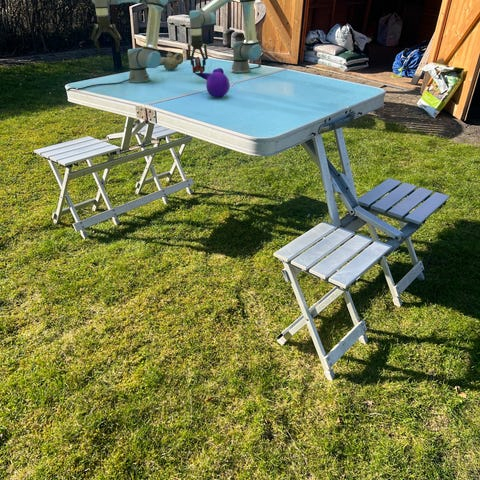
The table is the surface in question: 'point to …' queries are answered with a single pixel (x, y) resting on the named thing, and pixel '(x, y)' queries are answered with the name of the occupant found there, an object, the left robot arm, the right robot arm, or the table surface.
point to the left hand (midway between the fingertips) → (108, 51)
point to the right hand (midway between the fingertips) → (198, 69)
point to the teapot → (171, 61)
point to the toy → (216, 82)
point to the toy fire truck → (198, 66)
